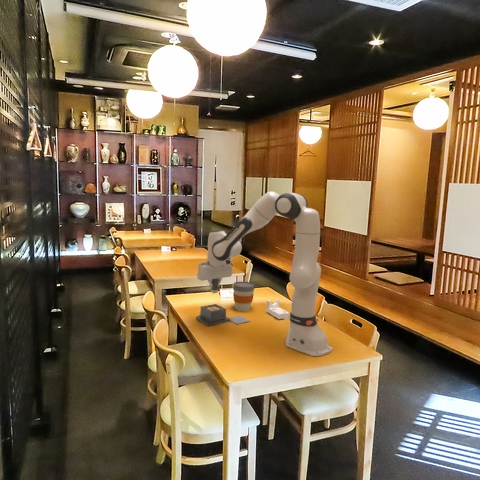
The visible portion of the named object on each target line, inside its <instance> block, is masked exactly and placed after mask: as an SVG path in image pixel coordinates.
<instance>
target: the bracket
mask: <svg viewBox="0 0 480 480" xmlns="http://www.w3.org/2000/svg"><path fill="white" fill-rule="evenodd" d="M280 303H281V302H280V299H275V301H274V302H273V303H272V302H271V300H269V299H267V300H266V306H265V307H266V309H265V310H266V313H269V315H271V316H273V317H275V318H277V319H278V320H281V319H283V320H287V319H288V320H290V311H289V312H288V311H287V310H285V309H284V308H281V307H280Z"/></svg>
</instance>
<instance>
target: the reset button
mask: <svg viewBox="0 0 480 480" xmlns="http://www.w3.org/2000/svg"><path fill="white" fill-rule="evenodd" d="M207 309H209V310H211V311H213V310H218V309H219V308H217V307H215V306H214V307H208V308H207Z"/></svg>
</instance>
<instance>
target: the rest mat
mask: <svg viewBox="0 0 480 480" xmlns="http://www.w3.org/2000/svg"><path fill="white" fill-rule="evenodd" d="M228 318H229V319H230V323H233V324H234V325H237V326H238V325H241V324H245V323H249V322H251V320H250V319H247V318H246V317H243V316H242V315H237V316H232V317H228Z"/></svg>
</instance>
